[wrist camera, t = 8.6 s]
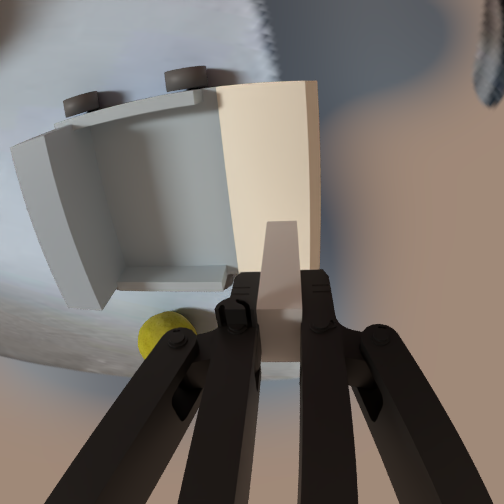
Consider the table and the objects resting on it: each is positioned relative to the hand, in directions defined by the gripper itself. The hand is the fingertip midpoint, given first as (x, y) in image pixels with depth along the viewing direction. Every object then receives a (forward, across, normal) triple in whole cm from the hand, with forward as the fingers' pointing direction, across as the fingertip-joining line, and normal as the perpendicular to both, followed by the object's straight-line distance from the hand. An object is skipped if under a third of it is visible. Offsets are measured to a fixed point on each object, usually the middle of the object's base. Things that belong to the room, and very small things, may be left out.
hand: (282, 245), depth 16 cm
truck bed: (+12, -12, 0) cm, 17 cm away
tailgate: (+9, -4, 0) cm, 9 cm away
